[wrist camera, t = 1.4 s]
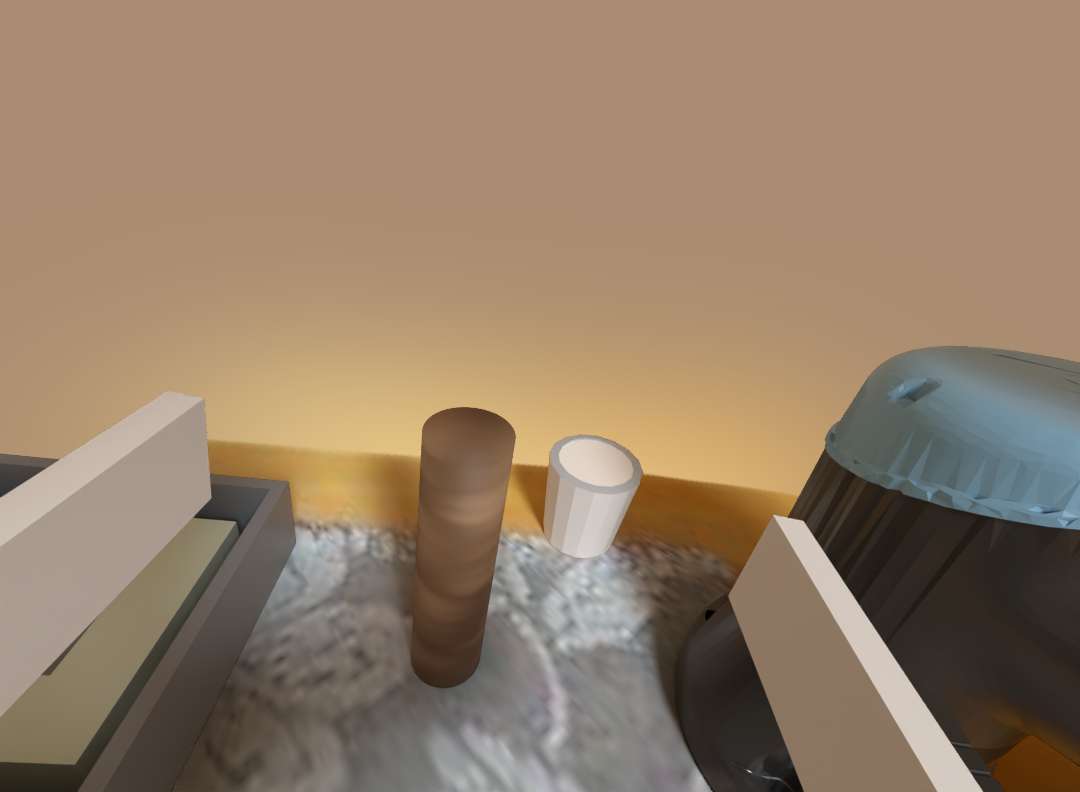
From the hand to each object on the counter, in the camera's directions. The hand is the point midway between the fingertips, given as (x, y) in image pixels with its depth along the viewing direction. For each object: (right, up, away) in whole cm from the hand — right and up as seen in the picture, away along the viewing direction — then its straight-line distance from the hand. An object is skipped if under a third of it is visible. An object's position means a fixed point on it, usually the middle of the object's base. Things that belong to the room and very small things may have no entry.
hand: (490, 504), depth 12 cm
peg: (-4, -13, +18) cm, 23 cm away
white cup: (+4, -8, +29) cm, 30 cm away
